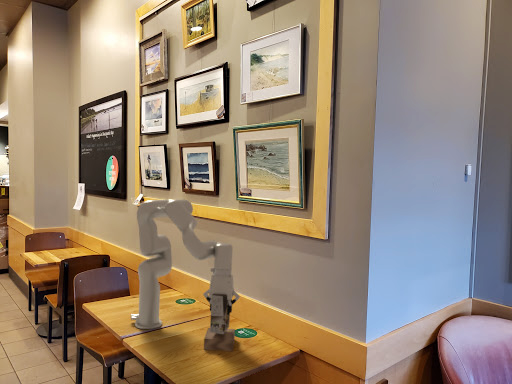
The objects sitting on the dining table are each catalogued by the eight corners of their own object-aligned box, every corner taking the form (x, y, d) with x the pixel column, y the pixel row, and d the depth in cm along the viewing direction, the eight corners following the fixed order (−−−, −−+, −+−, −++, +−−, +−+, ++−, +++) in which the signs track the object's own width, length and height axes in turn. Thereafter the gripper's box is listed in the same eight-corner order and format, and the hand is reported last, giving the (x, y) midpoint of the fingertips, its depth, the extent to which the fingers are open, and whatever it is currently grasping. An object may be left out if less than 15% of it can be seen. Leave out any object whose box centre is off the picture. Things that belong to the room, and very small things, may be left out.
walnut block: (203, 350, 161) (204, 338, 161) (207, 338, 173) (208, 327, 173) (232, 351, 161) (233, 340, 161) (234, 340, 173) (234, 329, 173)
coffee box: (224, 334, 162) (226, 296, 162) (209, 332, 163) (211, 294, 163) (229, 326, 171) (231, 290, 171) (215, 324, 172) (217, 289, 172)
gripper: (200, 272, 164) (198, 314, 164) (241, 275, 162) (239, 318, 162) (205, 268, 171) (203, 308, 172) (243, 271, 169) (241, 312, 170)
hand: (220, 312), depth 167 cm, fingers closed on coffee box, 6 cm apart
